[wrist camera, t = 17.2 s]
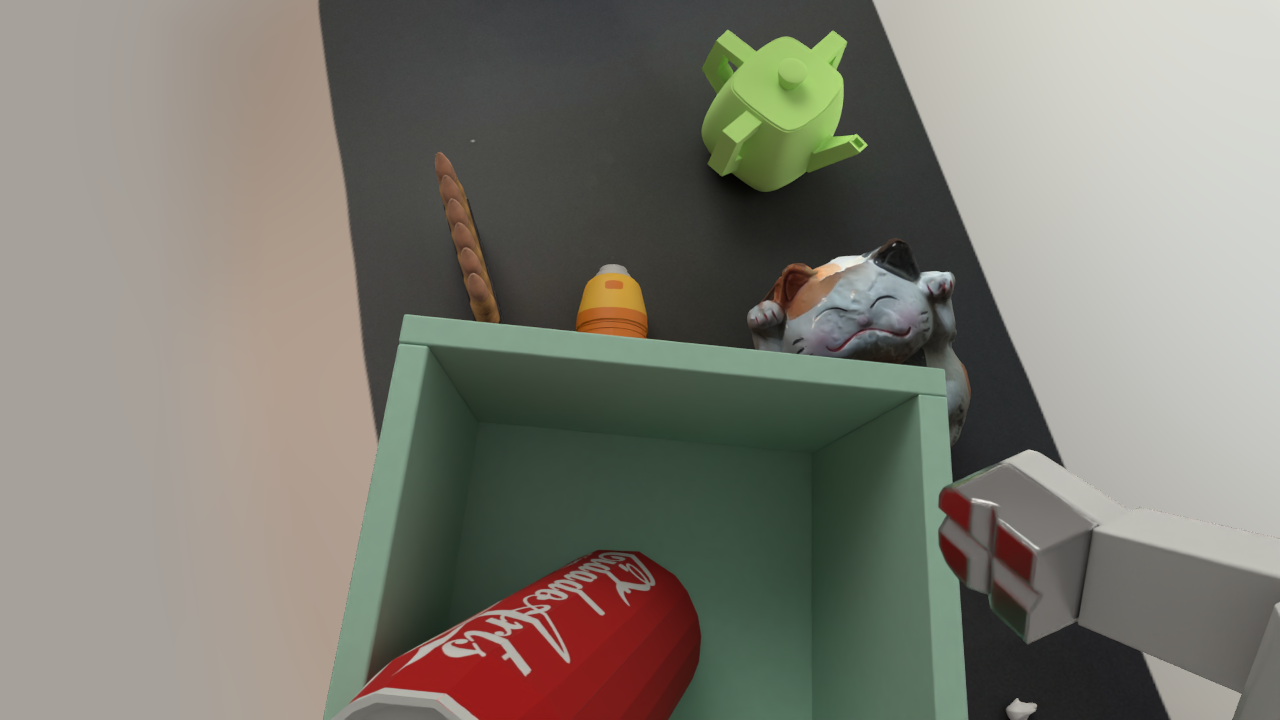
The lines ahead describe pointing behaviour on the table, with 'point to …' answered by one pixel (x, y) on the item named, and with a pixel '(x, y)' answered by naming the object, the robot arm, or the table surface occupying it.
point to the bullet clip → (467, 245)
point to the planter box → (671, 510)
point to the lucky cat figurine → (867, 317)
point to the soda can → (553, 652)
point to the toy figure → (613, 305)
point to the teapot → (775, 110)
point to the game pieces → (1020, 710)
